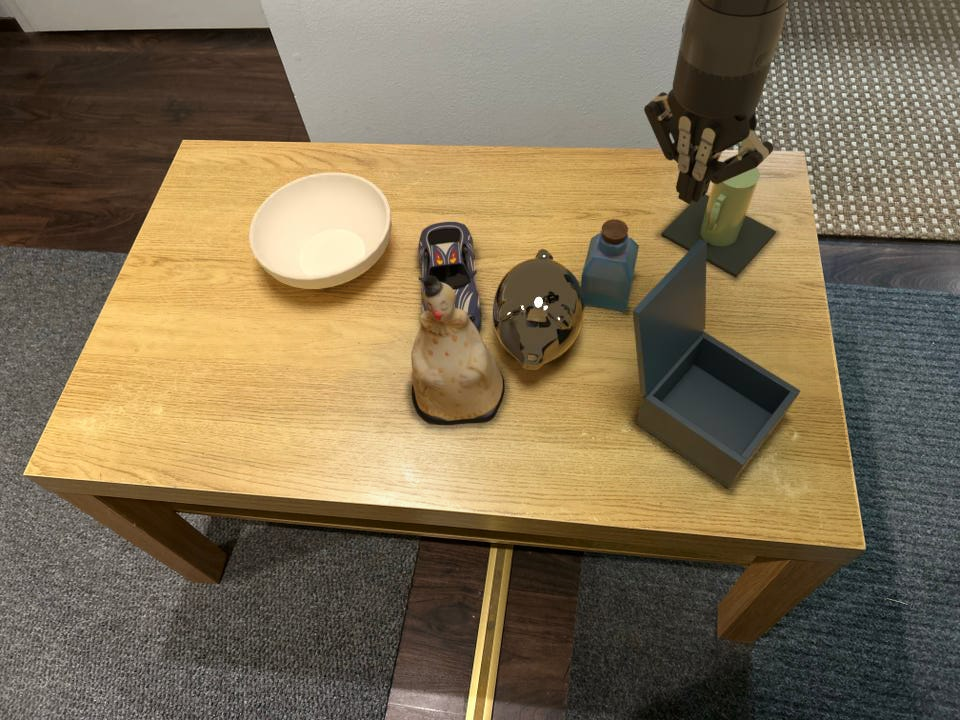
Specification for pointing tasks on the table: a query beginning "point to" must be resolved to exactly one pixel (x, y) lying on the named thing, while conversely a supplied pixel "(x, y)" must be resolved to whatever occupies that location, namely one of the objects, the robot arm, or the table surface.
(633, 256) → the perfume bottle
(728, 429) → the box
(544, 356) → the piggy bank
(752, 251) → the mat
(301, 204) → the bowl
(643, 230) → the table surface
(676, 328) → the lid
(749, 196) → the pale green cylinder
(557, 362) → the table surface
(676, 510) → the table surface
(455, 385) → the figurine
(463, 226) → the toy car
